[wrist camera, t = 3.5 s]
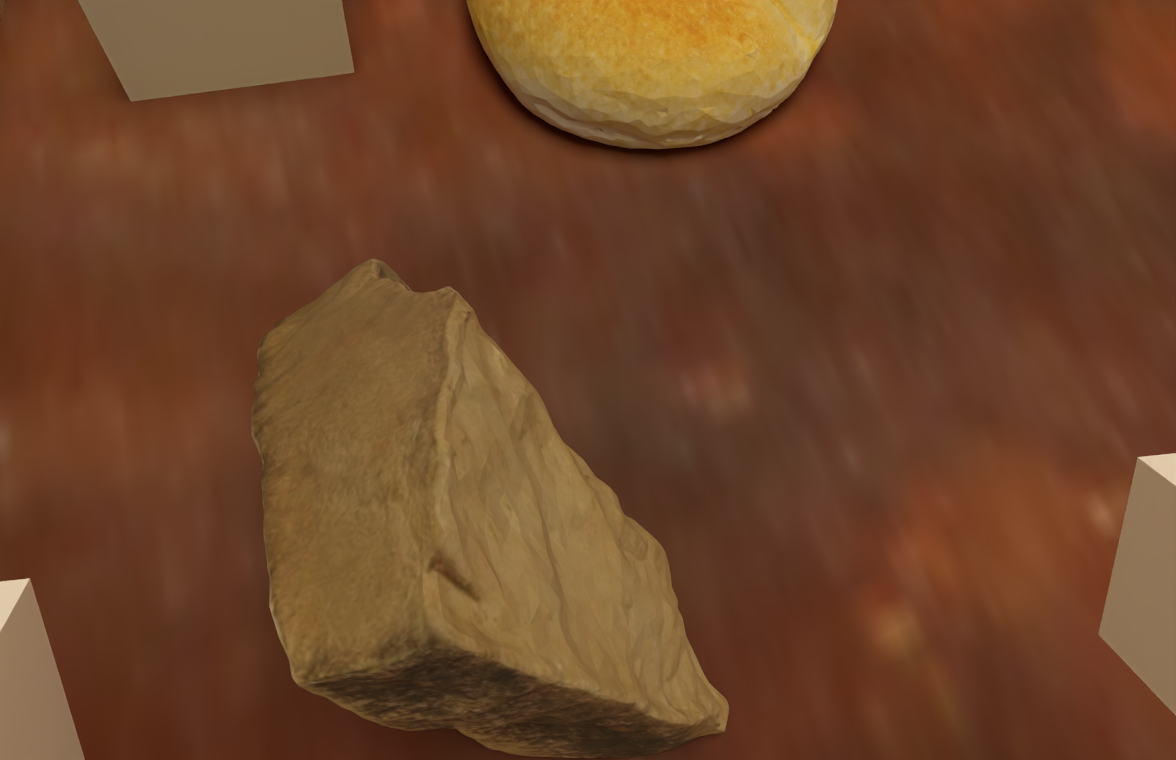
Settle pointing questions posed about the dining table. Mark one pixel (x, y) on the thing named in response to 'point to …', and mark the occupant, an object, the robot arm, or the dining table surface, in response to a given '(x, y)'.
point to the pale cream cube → (218, 43)
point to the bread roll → (652, 63)
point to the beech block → (2, 7)
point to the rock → (457, 540)
